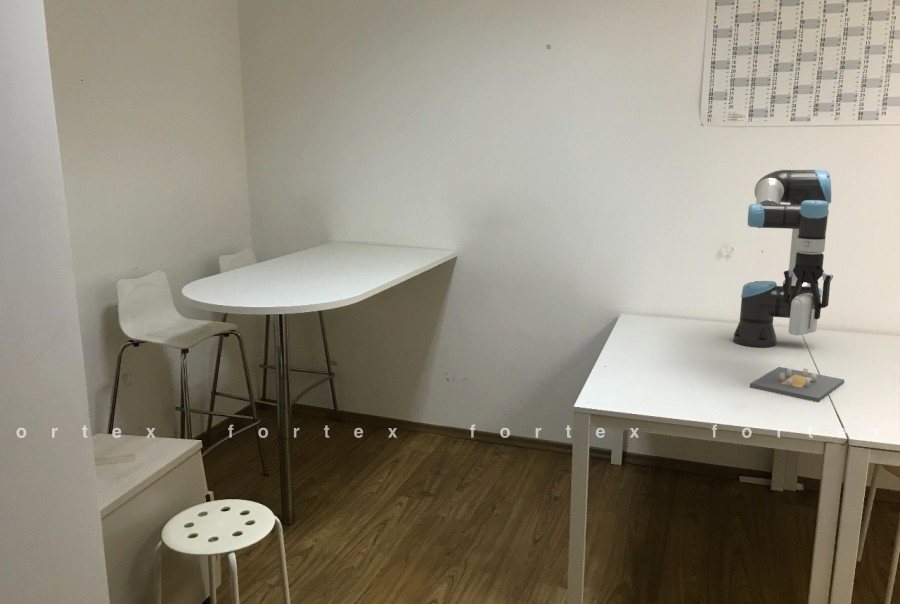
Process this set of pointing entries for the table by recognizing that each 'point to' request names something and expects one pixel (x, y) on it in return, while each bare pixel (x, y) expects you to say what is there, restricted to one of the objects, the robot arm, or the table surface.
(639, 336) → the table surface
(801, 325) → the photo printer
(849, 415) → the table surface
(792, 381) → the pin tray
